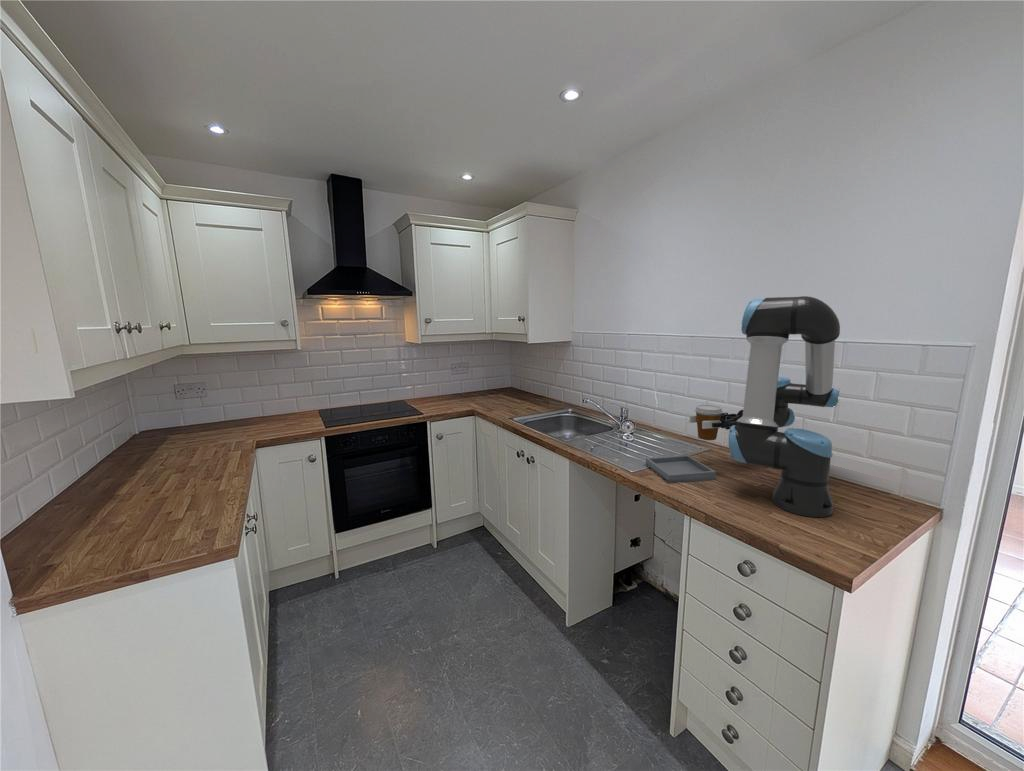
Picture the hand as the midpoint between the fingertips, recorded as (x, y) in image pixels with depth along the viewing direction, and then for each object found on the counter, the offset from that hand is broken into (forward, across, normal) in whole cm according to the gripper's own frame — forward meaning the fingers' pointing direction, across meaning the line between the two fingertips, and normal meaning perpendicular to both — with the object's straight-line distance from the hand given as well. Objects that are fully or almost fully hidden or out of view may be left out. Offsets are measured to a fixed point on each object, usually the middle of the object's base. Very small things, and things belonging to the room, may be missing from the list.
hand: (696, 422), depth 151 cm
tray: (+7, -2, -19) cm, 20 cm away
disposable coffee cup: (-5, 0, -7) cm, 8 cm away
